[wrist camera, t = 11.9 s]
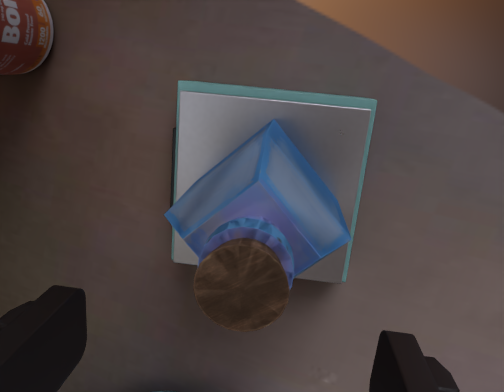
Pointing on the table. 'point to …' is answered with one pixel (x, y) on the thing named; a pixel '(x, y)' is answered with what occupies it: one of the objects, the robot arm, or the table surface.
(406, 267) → the table surface
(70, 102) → the table surface
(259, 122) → the pan
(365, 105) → the scale
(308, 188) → the perfume bottle
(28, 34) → the pill bottle
